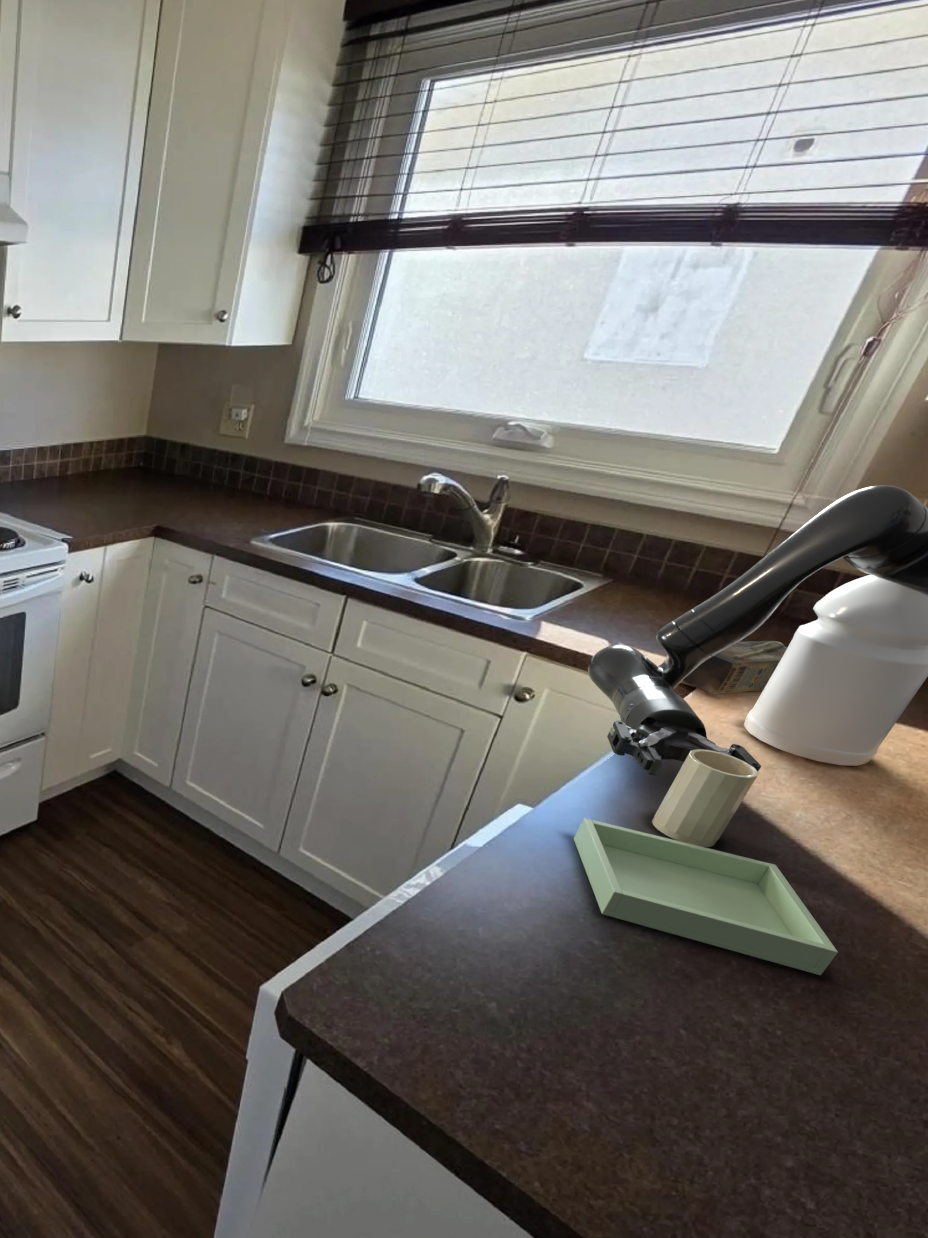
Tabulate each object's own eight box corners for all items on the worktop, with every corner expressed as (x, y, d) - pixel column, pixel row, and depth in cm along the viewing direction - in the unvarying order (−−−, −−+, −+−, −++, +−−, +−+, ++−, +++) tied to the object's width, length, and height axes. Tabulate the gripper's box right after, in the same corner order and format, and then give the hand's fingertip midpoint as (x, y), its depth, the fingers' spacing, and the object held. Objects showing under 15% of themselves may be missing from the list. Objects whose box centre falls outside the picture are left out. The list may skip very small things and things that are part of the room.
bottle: (730, 711, 128) (826, 542, 115) (847, 735, 122) (961, 560, 109) (757, 749, 117) (866, 567, 104) (887, 778, 111) (1019, 589, 98)
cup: (706, 825, 99) (746, 757, 95) (723, 853, 94) (767, 782, 90) (645, 811, 102) (682, 744, 97) (659, 837, 97) (699, 768, 92)
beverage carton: (801, 689, 136) (822, 654, 133) (714, 697, 132) (733, 661, 129) (750, 669, 143) (769, 635, 140) (666, 676, 139) (683, 641, 136)
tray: (761, 886, 89) (775, 864, 88) (820, 975, 77) (838, 952, 76) (573, 838, 96) (583, 817, 94) (601, 914, 84) (614, 891, 83)
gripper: (710, 757, 110) (756, 819, 97) (586, 731, 115) (614, 786, 102) (738, 710, 107) (789, 767, 94) (608, 685, 112) (640, 736, 99)
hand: (697, 777), depth 98 cm, fingers open, 8 cm apart
